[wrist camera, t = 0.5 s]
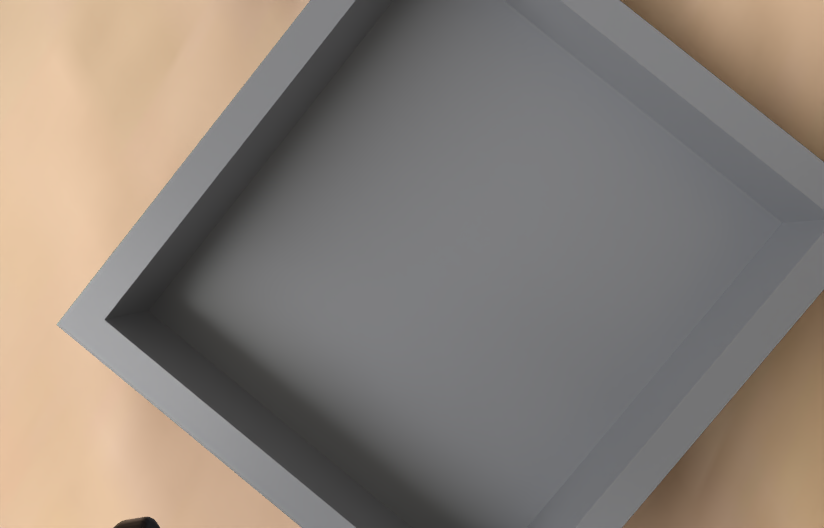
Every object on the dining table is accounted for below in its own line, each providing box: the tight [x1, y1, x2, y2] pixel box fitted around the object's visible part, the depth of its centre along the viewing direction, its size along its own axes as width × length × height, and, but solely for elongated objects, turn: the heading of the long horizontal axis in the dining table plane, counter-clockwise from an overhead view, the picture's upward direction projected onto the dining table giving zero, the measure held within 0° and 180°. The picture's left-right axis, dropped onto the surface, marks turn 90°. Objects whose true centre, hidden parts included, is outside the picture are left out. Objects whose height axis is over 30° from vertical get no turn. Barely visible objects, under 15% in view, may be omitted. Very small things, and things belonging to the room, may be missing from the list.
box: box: [57, 0, 824, 528], centre depth 22 cm, size 16×17×4 cm
